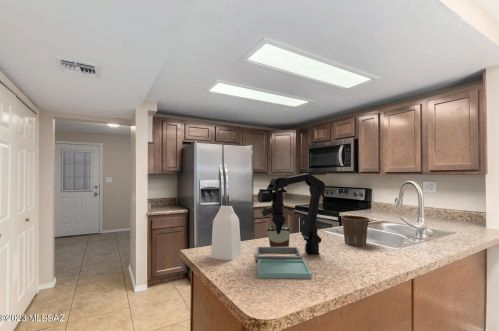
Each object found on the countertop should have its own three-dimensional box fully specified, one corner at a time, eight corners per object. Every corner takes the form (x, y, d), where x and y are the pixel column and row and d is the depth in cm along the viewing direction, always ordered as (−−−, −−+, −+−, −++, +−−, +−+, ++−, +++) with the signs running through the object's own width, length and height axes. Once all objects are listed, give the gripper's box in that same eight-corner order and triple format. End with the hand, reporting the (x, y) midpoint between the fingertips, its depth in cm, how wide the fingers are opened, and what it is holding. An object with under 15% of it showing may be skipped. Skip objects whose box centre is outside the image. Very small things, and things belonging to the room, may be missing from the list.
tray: (304, 264, 120) (304, 259, 120) (311, 278, 103) (311, 273, 103) (258, 263, 122) (258, 259, 122) (257, 277, 105) (257, 272, 105)
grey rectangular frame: (297, 252, 138) (297, 247, 138) (302, 263, 121) (302, 257, 122) (257, 252, 140) (257, 246, 140) (256, 262, 123) (256, 256, 123)
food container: (291, 241, 133) (290, 223, 132) (291, 246, 127) (291, 227, 126) (267, 241, 134) (266, 223, 133) (267, 247, 128) (266, 228, 127)
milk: (211, 257, 131) (211, 207, 132) (221, 251, 141) (221, 204, 142) (232, 260, 126) (232, 207, 128) (241, 253, 137) (240, 205, 138)
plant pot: (375, 244, 154) (374, 217, 155) (360, 249, 144) (359, 220, 145) (351, 239, 167) (350, 214, 168) (336, 243, 158) (335, 216, 158)
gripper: (262, 200, 140) (262, 228, 139) (261, 203, 121) (261, 236, 121) (282, 200, 139) (282, 228, 139) (285, 203, 121) (285, 236, 120)
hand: (278, 232), depth 130 cm, fingers closed on food container, 6 cm apart
